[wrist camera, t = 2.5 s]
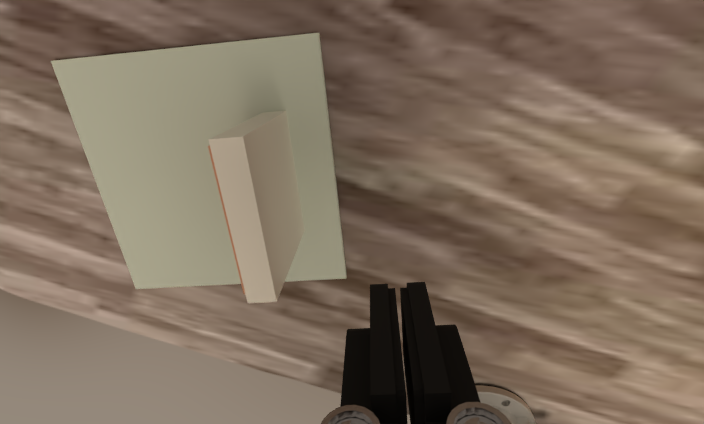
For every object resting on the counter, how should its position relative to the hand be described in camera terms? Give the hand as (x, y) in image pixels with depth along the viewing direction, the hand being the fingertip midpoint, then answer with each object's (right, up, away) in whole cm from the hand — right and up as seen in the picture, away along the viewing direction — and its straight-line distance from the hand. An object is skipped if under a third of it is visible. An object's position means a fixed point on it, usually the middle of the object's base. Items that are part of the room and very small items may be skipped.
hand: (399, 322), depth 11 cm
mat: (-13, +6, +19) cm, 24 cm away
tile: (-7, +6, +18) cm, 20 cm away
